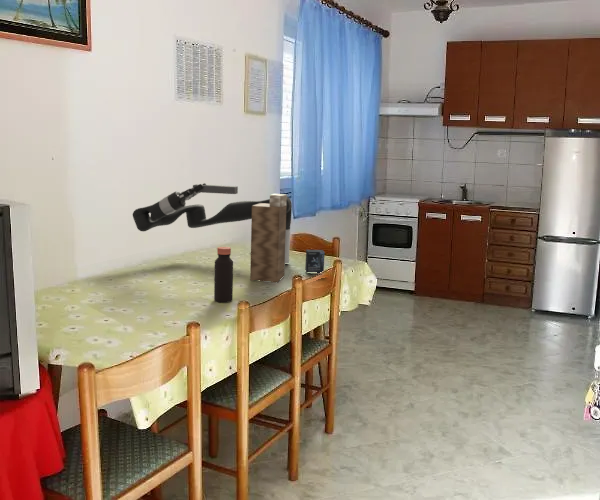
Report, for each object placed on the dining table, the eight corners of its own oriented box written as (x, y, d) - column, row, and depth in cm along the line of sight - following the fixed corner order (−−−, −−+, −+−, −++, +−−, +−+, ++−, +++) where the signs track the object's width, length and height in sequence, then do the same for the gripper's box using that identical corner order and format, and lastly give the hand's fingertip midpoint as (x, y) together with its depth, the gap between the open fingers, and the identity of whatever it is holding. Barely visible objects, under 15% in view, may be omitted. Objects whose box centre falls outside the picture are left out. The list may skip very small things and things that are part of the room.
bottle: (229, 303, 235) (230, 250, 231) (211, 301, 236) (212, 248, 232) (234, 299, 241) (235, 246, 238) (217, 297, 242) (218, 245, 239)
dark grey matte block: (192, 192, 276) (192, 185, 276) (196, 191, 280) (196, 184, 280) (234, 194, 272) (234, 187, 272) (237, 193, 276) (237, 186, 276)
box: (306, 274, 288) (307, 251, 286) (304, 272, 294) (305, 249, 292) (323, 274, 289) (324, 251, 288) (321, 272, 295) (322, 249, 293)
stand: (250, 280, 273) (252, 194, 266) (258, 274, 284) (260, 192, 278) (278, 282, 270) (281, 196, 264) (285, 276, 282) (287, 193, 275)
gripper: (161, 196, 274) (194, 178, 270) (174, 194, 288) (206, 176, 283) (169, 212, 275) (202, 194, 270) (182, 209, 288) (213, 191, 284)
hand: (204, 185), depth 277 cm, fingers closed on dark grey matte block, 4 cm apart
